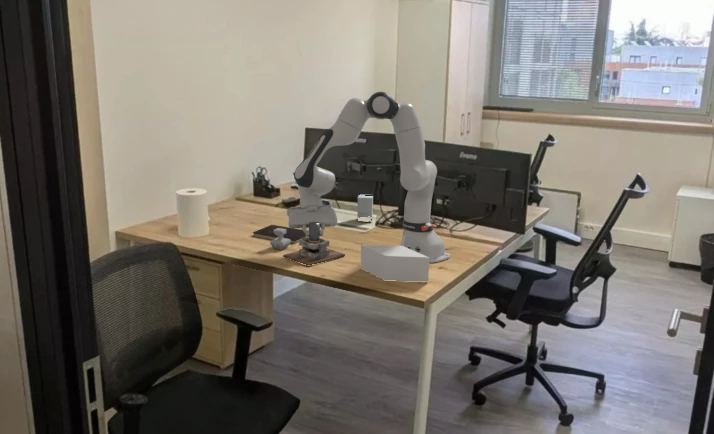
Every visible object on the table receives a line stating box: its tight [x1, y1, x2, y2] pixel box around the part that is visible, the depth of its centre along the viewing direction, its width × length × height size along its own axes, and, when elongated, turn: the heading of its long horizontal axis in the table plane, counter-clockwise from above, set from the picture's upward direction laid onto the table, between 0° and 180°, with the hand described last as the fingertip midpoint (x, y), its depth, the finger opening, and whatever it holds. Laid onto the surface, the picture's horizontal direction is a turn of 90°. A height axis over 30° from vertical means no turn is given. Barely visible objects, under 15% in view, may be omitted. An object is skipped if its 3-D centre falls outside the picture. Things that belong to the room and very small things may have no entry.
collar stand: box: [282, 237, 346, 265], centre depth 273 cm, size 16×20×7 cm
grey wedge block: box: [360, 244, 430, 282], centre depth 252 cm, size 14×29×10 cm, turn 60°
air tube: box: [308, 222, 321, 253], centre depth 271 cm, size 5×5×12 cm
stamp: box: [269, 228, 292, 250], centre depth 283 cm, size 9×7×8 cm
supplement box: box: [357, 194, 374, 218], centre depth 329 cm, size 7×7×13 cm
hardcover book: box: [252, 224, 309, 244], centre depth 302 cm, size 16×23×2 cm
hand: (314, 235), depth 270 cm, fingers closed on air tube, 4 cm apart
